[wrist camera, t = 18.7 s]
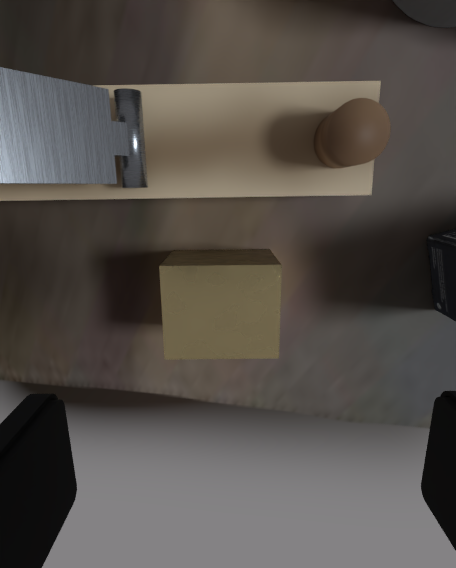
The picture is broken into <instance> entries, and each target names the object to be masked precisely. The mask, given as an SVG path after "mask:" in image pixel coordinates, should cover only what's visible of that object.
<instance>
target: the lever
mask: <svg viewBox="0 0 456 568" xmlns="http://www.w3.org/2000/svg"><path fill="white" fill-rule="evenodd" d="M114 103H115V114H116V121H111V111H110V100H109V89H106V88H101V87H96V86H91V85H86V84H81V83H76V82H71V81H66V80H61V79H56V78H51V77H46V76H41V75H36V74H31V73H26V72H21V71H16V70H11V69H6V68H1V67H0V184H117V178H116V167H115V157H119V160H120V172H121V184H122V188H148V181H147V167H146V152H145V138H144V123H143V109H142V94H141V91H139V90H135V89H128V88H122V89H116V90H114Z"/></svg>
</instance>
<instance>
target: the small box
mask: <svg viewBox="0 0 456 568" xmlns="http://www.w3.org/2000/svg"><path fill="white" fill-rule="evenodd" d="M427 242H428V243H427V246H428V250H429V258H430V266H431V277H432V278H431V280H432V287H433V288H432V293H433V299H434V304H435V310H437V311H439V312H440V313H442V314H444V315H446V316H447V317H449V318H451V319H453V320H454V321H456V229H454V230H450V231H446V232H442V233H438V234H435V235H430V236H429V237H428V239H427Z"/></svg>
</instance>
